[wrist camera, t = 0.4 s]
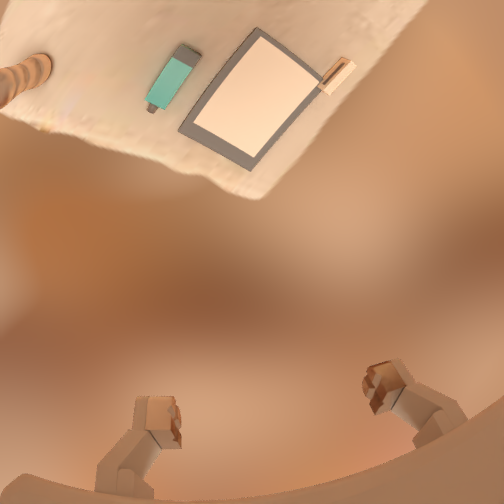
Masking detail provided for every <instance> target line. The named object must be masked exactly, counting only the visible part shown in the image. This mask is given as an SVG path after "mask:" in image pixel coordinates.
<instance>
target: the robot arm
mask: <svg viewBox="0 0 504 504" xmlns="http://www.w3.org/2000/svg"><path fill="white" fill-rule="evenodd" d="M366 372H367V375H366V376H365V377H364V379H363V382H362V388H363V392H364V394H365V396H366V397H367V398H369V399H370V406H371V408H372V411H373V412H374V414H375V415H378V414H381V413H384V412H387V411H390V410H391V412H393V413H394V414H396V415H397V416H399V417H400V418H401V419H403V420H404V421H405V422H407V423H408V424H410V425H411V426H412V427H414V428H415V429H417V430H418V431H419V432H418V433H417V434H416V436H415V437H414V438H413V443H414V445H415V447H416V449H415V450H413V451H411V452H409V453H407V454H404V455H402V456H400V457H398V458H395V459H393V460H390V461H388V462H386V463H383V464H380V465H378V466H376V467H373V468H370V469H368V470H364V471H362V472H359V473H356V474H353V475H349V476H346V477H344V478H340V479H337V480H333V481H330V482H326V483H322V484H318V485H314V486H310V487H305V488H301V489H297V490H292V491H287V492H281V493H275V494H269V495H263V496H255V497H247V498H237V499H226V500H225V499H224V500H206V501H205V500H203V501H174V500H154V489H153V488H152V487H151V486H149V485H148V484H147V483H146V482H145V481H144V480H143V478H144V477H145V475H146V474H147V472H148V471H149V469H150V468H151V466H152V465H153V463H154V462H155V460H156V459H157V457H158V455H159V454H160V453H161V451H162V449H181V434H180V432H179V429H180V428H181V415H180V410H179V408H178V406H177V405H176V401H175V398H174V396H159V397H158V396H156V397H155V396H138V397H137V398H136V401H135V408H134V416H133V425H132V430H128V431H127V432H126V433H125V435H123V437H122V438H121V439H120V440H119V441H118V442H117V443H116V445H115V446H114V447H113V448H112V449H111V450H110V451H109V452H108V453H107V455H106V456H105V457H104V458H103V459H102V460H101V461H100V462H99V463H98V465H97V472H96V482H95V490H94V492H93V491H88V490H84V489H79V488H75V487H71V486H67V485H63V484H59V483H56V482H52V481H49V480H46V479H43V478H40V477H37V476H34V475H31V474H22V475H20V476H18V477H17V478H16V479H15V480H14V481H12V482H11V483H10V484H9V485H8V486H6V487H5V488H4V489H3V491H2V493H1V496H0V504H504V396H502V397H501V398H500V399H498V400H497V401H496V402H494V403H493V404H491V405H490V406H489V407H487V408H486V409H484V410H483V411H481V412H480V413H479V414H477V415H475V416H474V417H472V418H471V419H469V420H468V418H467V417H466V415H465V414H464V412H463V411H462V409H461V408H460V406H459V404H458V403H457V401H455V400H453V399H451V398H449V397H447V396H445V395H443V394H441V393H439V392H437V391H435V390H434V389H432V388H430V387H428V386H426V385H424V384H422V383H420V382H417V383H416V381H415V380H414V378H413V377H412V375H411V374H410V372H409V371H408V369H407V368H406V366H405V365H404V363H403V362H402V361H401V359H400V358H396V359H392V360H389V361H385V362H382V363H378V364H375V365H372V366H369V367H368V368H367V371H366Z"/></svg>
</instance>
